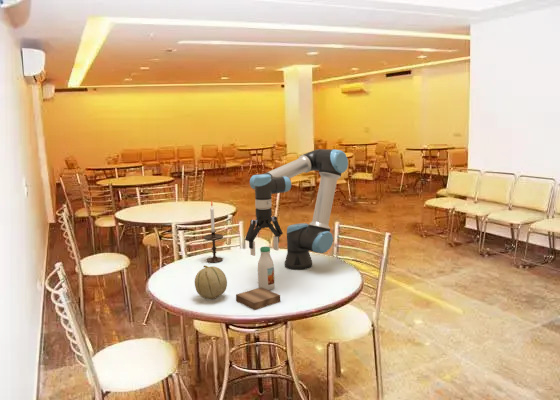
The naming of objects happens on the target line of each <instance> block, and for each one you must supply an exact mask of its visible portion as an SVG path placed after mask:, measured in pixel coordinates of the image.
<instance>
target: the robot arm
mask: <svg viewBox="0 0 560 400" xmlns="http://www.w3.org/2000/svg"><path fill="white" fill-rule="evenodd" d="M348 167H349V159H348V157H347V154H346V152H344V151H343V150H340V149H326V148H320V149H319V148H318V149H314V150H311V151H309V152H306V153H303V154H301V155H300V156H299V157H298V158H297V159H294V160H291V161H290V162H288V163H286V164H283V165H281V166H279V167H276V168H274V169H272V170H269V171H267V172H265V173H261V174H253V175H252V176H251V177H250V179H249V186H250V188H251V189H252V190H254V197H255V198H254V201H255V202H254V203H255V204H254V205H255V218H256V219H250V222H249V223H250V224H249V227H248V230H247V233H246V234H245V237H244V238H245V239H244V240H245V241H247V242H248V248H249V249H250V256H254V257H255V256H256V242H255V239H256V238H257V236H258V234H259V233H260V231H261V230H262V229H265V228H268V229H269V230H270V231H271V233H272V234H273V237H272V238H273V250H275V251H279V243H280V237H281V236H282V235H283V234H284V233H283V230H282V228H281V226H280V224H279V222H278V216H275V215H273V209H272V197H273V196H272V195H273V194H282V193H286V192H289V191H291V188H292V181H291V179H292V178H294V177H295V176H296V177H297V176H298V175H300V174H302V173H310V172H315V171H316V172H317V171H318V174H319V176H320V181H319V187H318V190H317V195H316V201H315V206H314V210H313V215H312V220H311V221H310V222H309V223H307V222H306V223H303V222H302V223H301V222H300V223H295V224H290V225H288V226H287V228H286V243H287V244H286V247H287V248H286V249H287V253H286V255H285V260H284V268H286V269H287V270H293V271H302V270H303V271H304V270H308V269H310V268H312V267H313V259H312V257H311V254H310V252H313V253H316V254H324V253H327V252H328V251H329V250H330V249H331V247H332V245H333V242H334V237H333V234H332V232H331V227H330V226H329V224H330V218H331V214H332V207H333V205H334V204H333V202H334V198H335V194H336V193H335V192H336V187H337V183H338V180H339V179H340V178H341V177H342V174H343V173H345V172H346V170H347V169H348ZM347 171H348V170H347Z"/></svg>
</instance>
